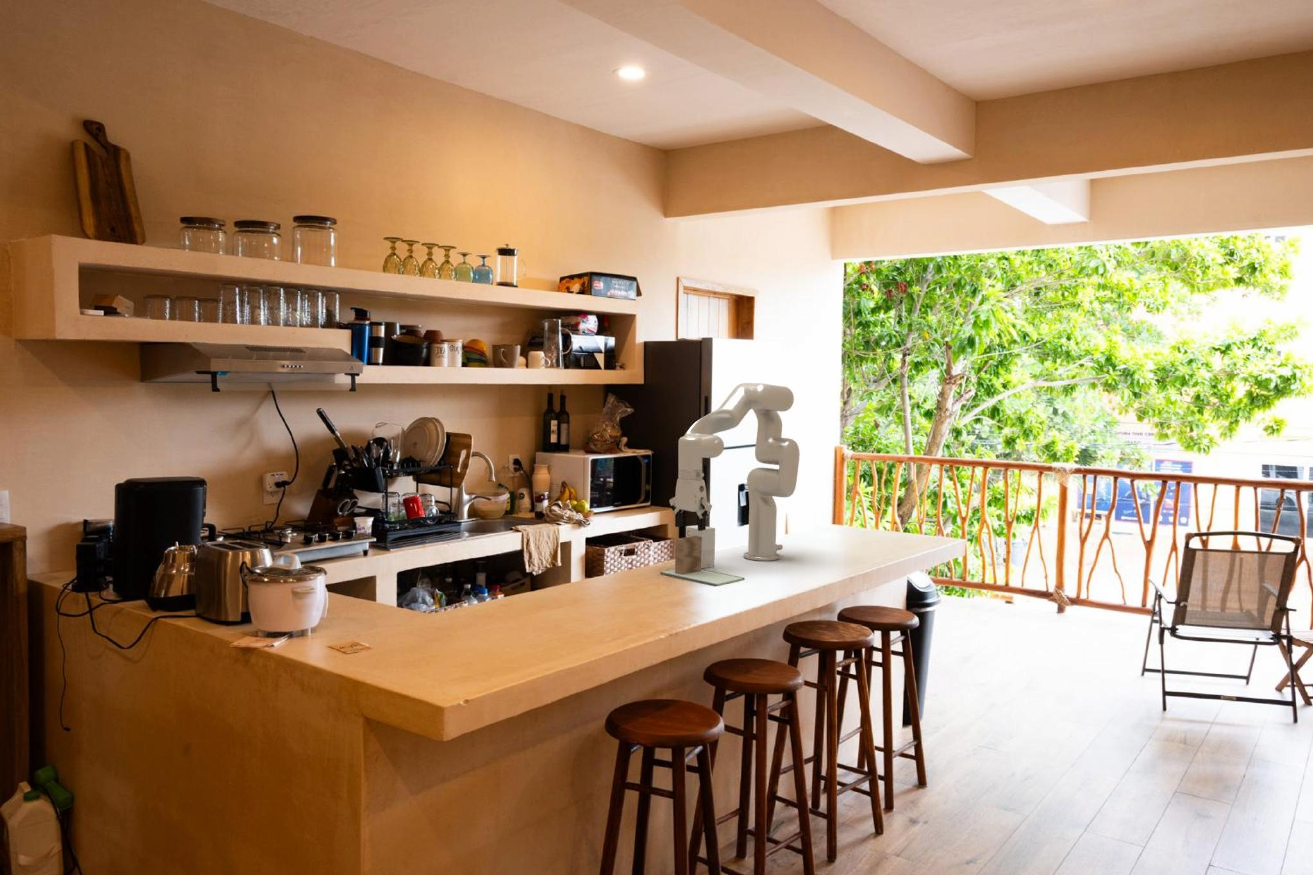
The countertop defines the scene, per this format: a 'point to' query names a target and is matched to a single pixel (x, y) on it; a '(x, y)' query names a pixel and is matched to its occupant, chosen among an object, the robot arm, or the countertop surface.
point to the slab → (688, 555)
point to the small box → (704, 544)
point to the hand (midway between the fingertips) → (690, 528)
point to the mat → (705, 577)
